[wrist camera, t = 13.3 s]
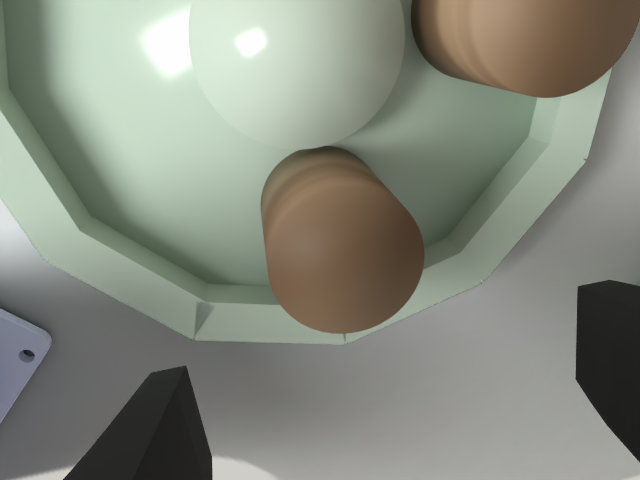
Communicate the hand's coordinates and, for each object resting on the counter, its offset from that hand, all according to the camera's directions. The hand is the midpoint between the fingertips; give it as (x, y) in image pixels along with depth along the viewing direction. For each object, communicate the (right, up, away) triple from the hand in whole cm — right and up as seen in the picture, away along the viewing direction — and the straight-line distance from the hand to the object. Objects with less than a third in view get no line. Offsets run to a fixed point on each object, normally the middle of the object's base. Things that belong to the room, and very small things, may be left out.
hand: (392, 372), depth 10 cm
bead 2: (+3, +9, +7) cm, 12 cm away
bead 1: (-1, +4, +9) cm, 9 cm away
